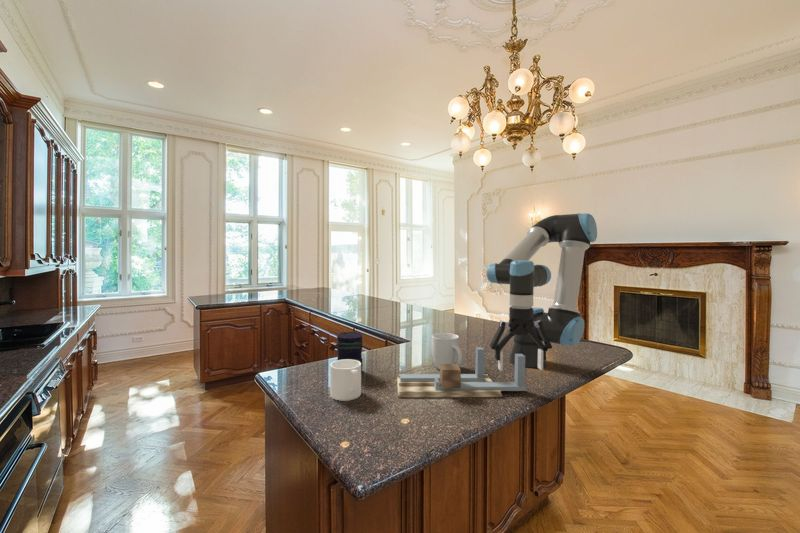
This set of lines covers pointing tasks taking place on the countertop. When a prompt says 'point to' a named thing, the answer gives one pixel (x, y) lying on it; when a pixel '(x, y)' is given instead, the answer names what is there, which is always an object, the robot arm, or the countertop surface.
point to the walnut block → (450, 376)
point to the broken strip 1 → (419, 377)
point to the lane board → (429, 391)
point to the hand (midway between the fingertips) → (520, 369)
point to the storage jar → (350, 346)
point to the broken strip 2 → (476, 368)
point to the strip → (502, 386)
